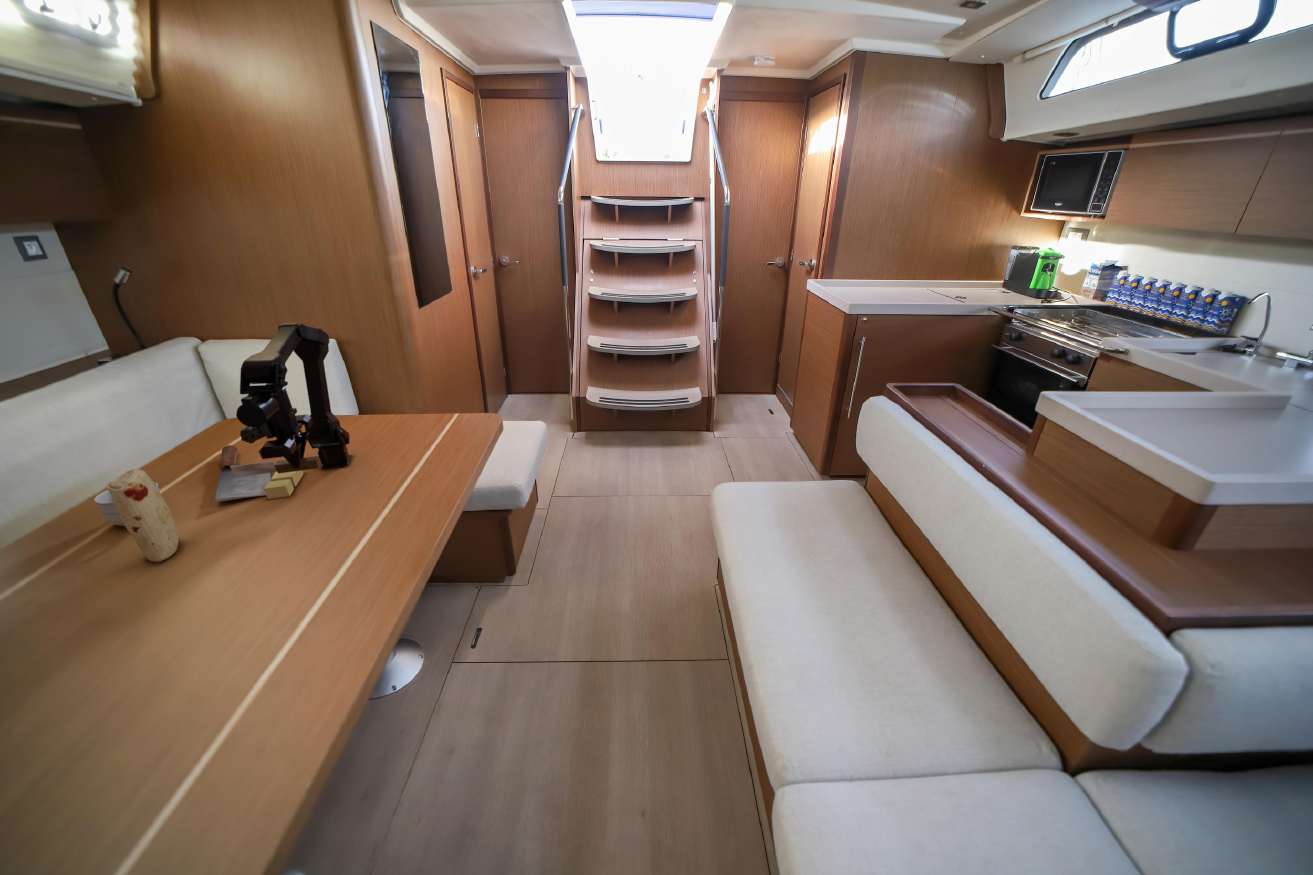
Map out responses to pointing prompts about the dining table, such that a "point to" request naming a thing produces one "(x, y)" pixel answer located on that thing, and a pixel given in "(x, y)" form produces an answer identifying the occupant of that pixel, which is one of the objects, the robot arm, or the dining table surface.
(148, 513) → the food model
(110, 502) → the teacup
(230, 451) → the meat cleaver
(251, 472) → the knife
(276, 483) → the butter slice
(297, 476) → the butter block
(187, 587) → the dining table surface
